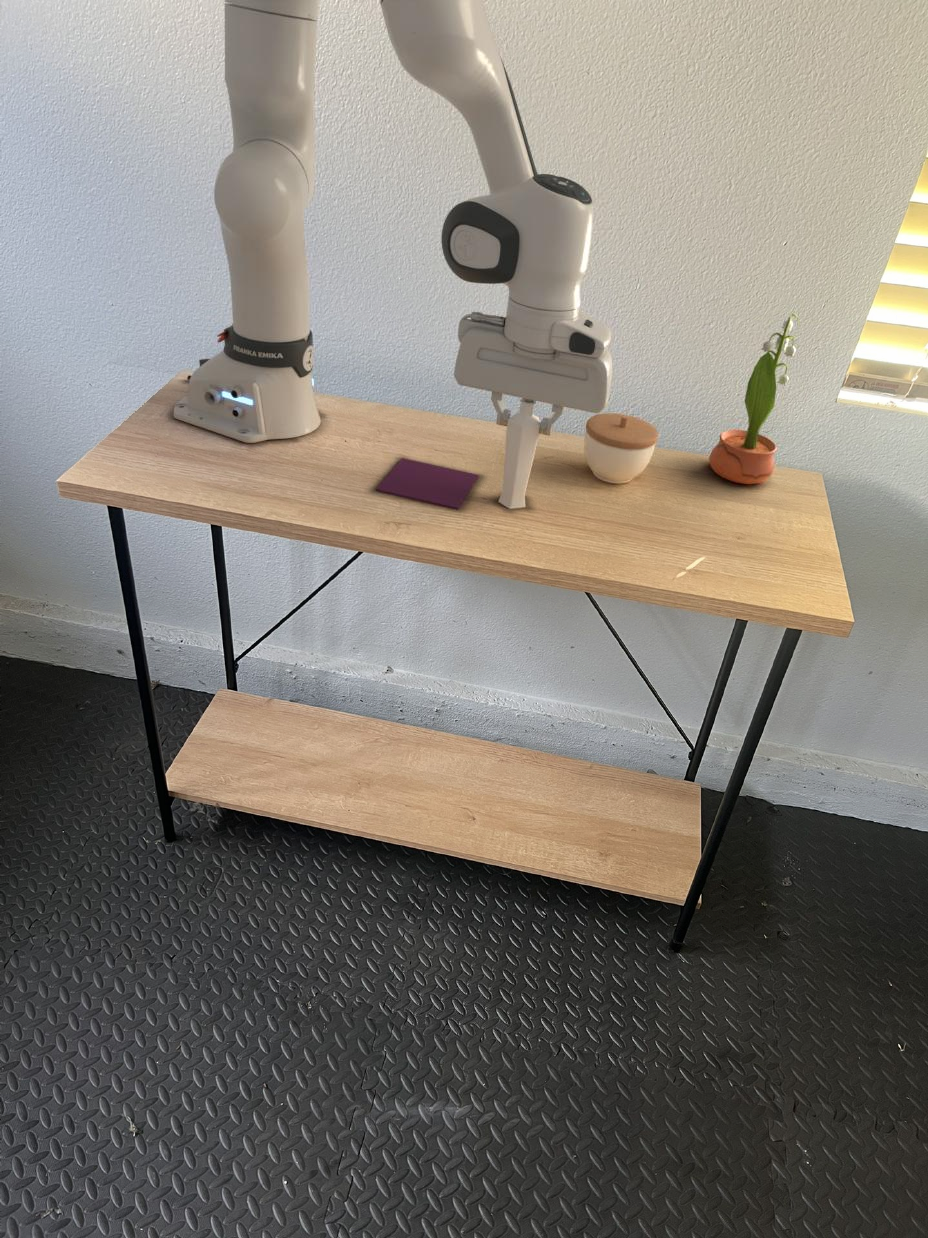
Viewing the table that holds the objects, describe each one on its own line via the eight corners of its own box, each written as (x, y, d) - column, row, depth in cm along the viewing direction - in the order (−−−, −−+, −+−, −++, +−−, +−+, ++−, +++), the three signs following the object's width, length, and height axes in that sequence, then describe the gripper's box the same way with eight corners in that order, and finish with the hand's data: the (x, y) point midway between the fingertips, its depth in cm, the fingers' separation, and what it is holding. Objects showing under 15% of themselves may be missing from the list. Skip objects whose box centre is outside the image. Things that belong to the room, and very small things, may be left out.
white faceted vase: (519, 513, 117) (536, 410, 108) (492, 503, 119) (506, 400, 110) (534, 501, 120) (552, 400, 112) (508, 491, 122) (523, 391, 113)
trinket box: (646, 496, 125) (661, 437, 120) (574, 483, 127) (586, 424, 121) (647, 466, 134) (661, 409, 129) (580, 454, 135) (591, 397, 130)
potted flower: (713, 450, 142) (758, 297, 127) (773, 466, 139) (827, 311, 125) (701, 478, 133) (749, 315, 118) (766, 495, 130) (823, 331, 115)
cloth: (375, 490, 118) (375, 488, 118) (402, 459, 127) (402, 457, 127) (457, 509, 116) (458, 507, 116) (478, 476, 125) (479, 474, 125)
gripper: (453, 314, 104) (443, 421, 112) (617, 346, 101) (594, 453, 109) (467, 302, 109) (456, 404, 117) (624, 332, 106) (601, 435, 114)
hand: (524, 428), depth 113 cm, fingers closed on white faceted vase, 4 cm apart
